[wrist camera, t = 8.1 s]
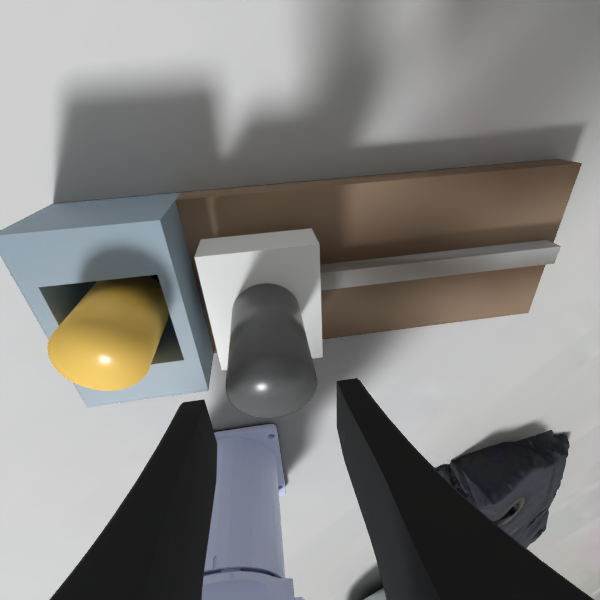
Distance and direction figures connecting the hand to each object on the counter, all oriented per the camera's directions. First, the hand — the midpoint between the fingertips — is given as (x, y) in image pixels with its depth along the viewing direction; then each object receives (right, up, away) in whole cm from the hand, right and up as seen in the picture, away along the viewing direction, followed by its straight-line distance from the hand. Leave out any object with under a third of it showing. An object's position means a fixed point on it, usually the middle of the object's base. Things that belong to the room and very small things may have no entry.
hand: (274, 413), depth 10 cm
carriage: (-1, +4, +7) cm, 9 cm away
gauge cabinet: (-8, +4, +8) cm, 12 cm away
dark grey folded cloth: (+22, -19, +28) cm, 40 cm away
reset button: (-7, +3, +6) cm, 10 cm away
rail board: (+5, +6, +9) cm, 12 cm away
